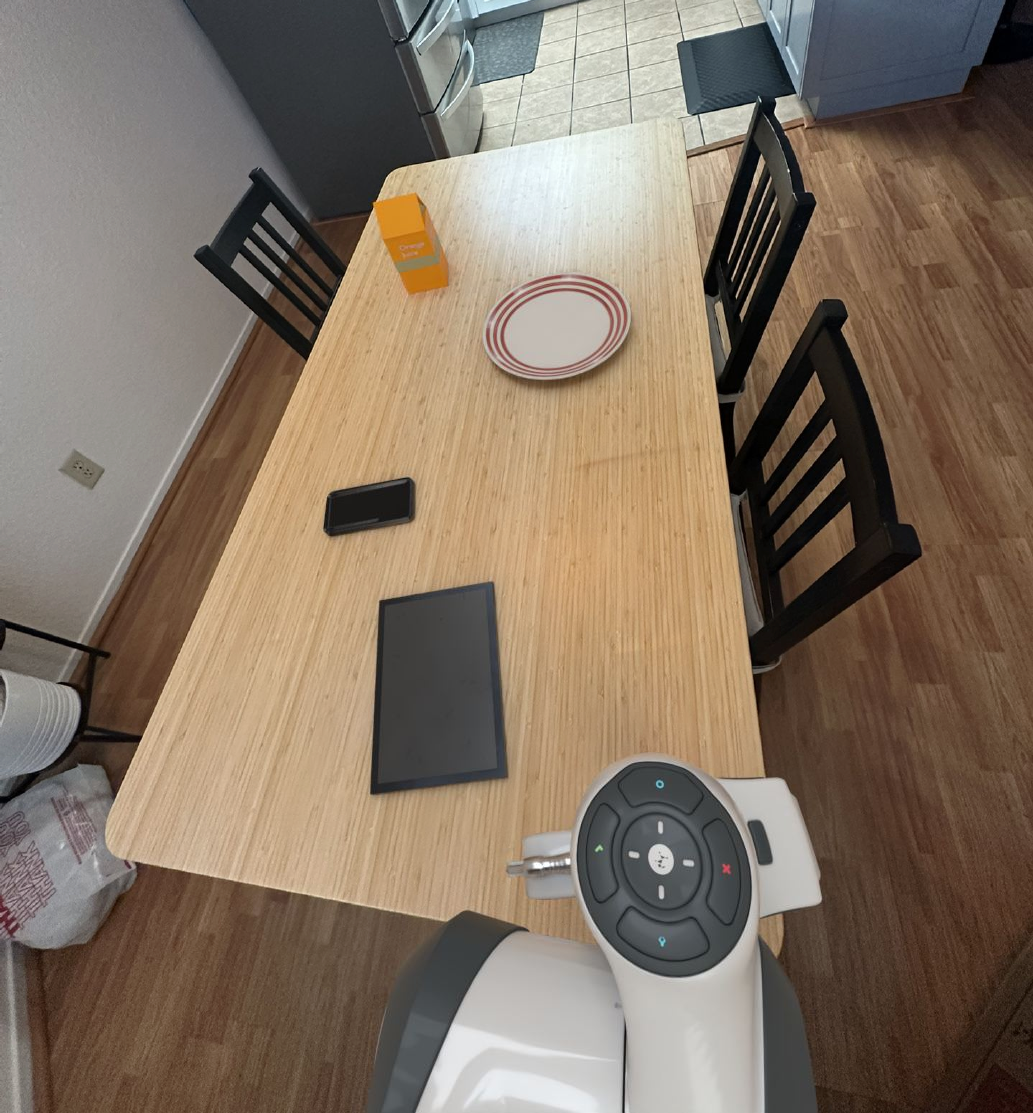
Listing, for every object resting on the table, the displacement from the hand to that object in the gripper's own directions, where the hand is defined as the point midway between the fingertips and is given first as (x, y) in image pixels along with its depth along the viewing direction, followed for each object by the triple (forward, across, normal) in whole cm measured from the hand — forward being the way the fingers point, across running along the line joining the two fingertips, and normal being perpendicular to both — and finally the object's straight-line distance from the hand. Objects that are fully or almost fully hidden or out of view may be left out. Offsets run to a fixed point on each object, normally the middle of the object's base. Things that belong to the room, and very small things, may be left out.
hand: (662, 849), depth 47 cm
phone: (+19, -36, +48) cm, 63 cm away
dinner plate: (+19, -1, +78) cm, 80 cm away
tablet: (+19, -25, +20) cm, 37 cm away
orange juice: (+19, -26, +102) cm, 107 cm away
